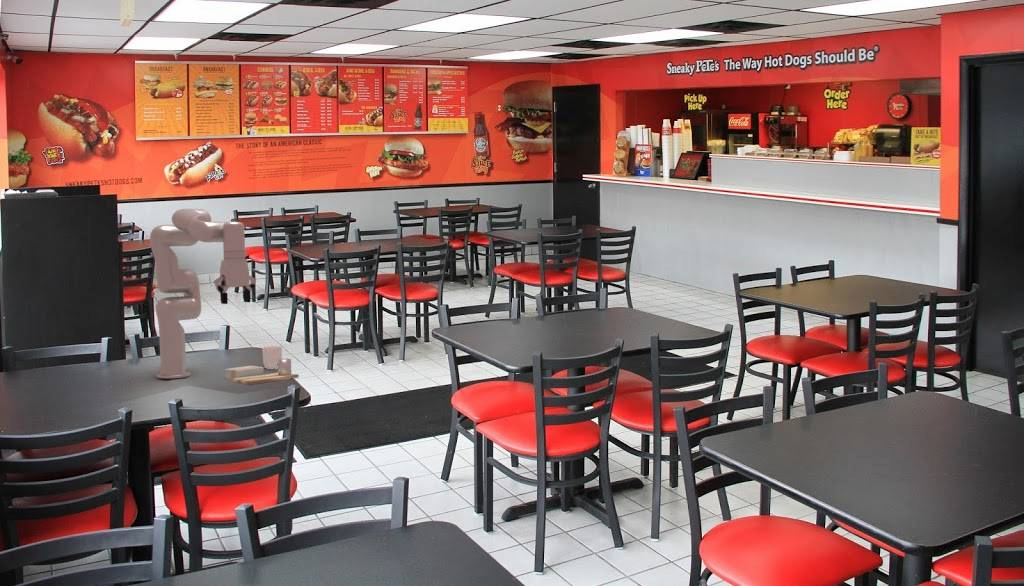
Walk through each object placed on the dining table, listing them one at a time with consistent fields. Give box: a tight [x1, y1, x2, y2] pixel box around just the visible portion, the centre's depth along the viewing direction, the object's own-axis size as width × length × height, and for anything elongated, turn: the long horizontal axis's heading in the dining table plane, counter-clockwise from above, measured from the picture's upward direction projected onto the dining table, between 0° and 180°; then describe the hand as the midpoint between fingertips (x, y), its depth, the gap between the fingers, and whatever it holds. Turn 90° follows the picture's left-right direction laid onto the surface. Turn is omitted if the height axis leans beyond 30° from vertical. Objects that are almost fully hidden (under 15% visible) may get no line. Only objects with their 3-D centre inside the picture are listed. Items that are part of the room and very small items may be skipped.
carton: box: [224, 365, 265, 381], centre depth 383 cm, size 8×12×4 cm
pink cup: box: [261, 345, 283, 370], centre depth 401 cm, size 8×8×10 cm
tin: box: [277, 358, 292, 376], centre depth 381 cm, size 5×5×6 cm
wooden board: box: [231, 371, 299, 386], centre depth 377 cm, size 12×22×1 cm, turn 139°
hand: (235, 302), depth 356 cm, fingers open, 9 cm apart
